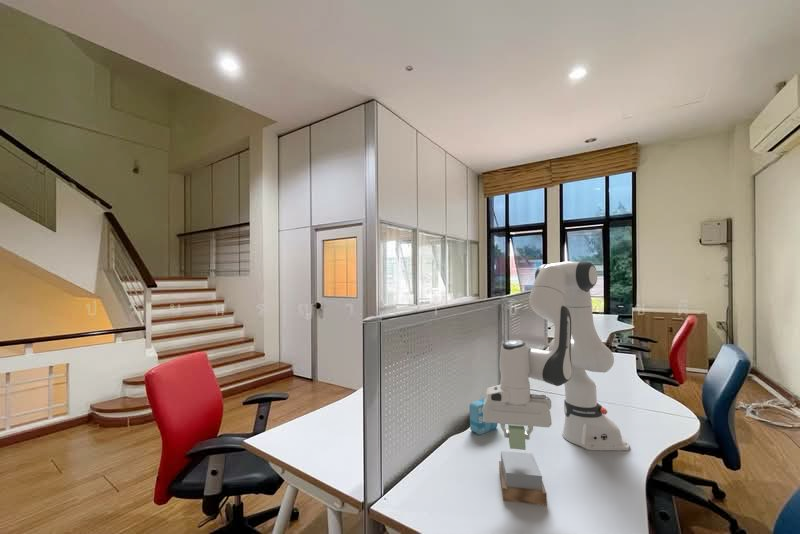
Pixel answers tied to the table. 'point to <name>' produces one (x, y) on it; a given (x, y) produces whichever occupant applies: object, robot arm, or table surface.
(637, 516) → the table surface
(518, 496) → the tower base
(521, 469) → the tower top
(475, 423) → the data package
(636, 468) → the table surface
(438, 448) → the table surface
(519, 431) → the sage block
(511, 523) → the table surface
